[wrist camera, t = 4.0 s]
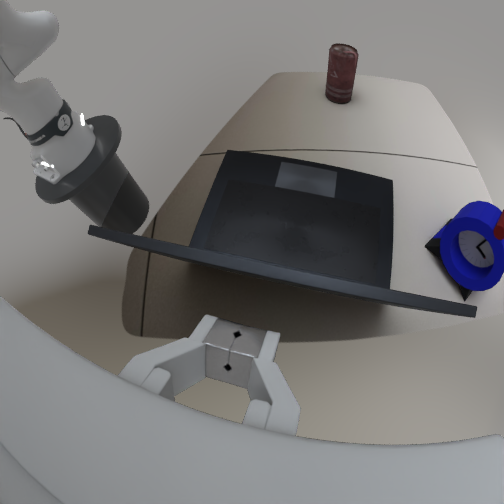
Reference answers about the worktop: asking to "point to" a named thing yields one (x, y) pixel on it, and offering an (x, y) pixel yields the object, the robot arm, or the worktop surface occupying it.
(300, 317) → the worktop surface
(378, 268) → the laptop
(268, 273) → the laptop screen
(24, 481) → the robot arm
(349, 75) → the can
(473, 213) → the alarm clock
